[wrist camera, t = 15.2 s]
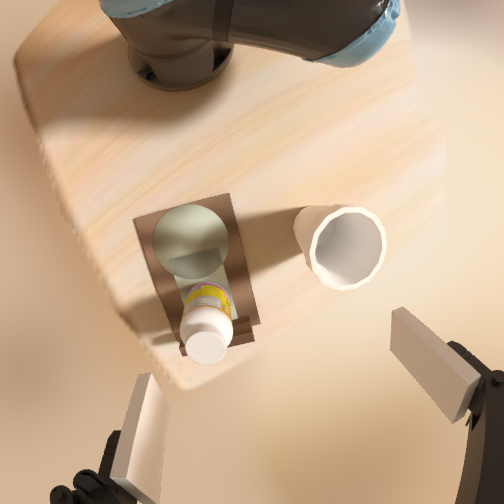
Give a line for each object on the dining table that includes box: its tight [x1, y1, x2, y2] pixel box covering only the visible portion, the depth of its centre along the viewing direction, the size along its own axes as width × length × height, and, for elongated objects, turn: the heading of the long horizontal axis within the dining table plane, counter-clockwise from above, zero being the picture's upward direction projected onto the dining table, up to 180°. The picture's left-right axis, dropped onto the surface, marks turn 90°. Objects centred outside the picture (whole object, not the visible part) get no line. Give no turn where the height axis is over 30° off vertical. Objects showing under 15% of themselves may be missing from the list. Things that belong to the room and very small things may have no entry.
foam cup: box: [293, 204, 387, 291], centre depth 36 cm, size 10×9×13 cm
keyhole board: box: [135, 193, 261, 356], centre depth 39 cm, size 21×14×5 cm, turn 12°
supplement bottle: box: [180, 282, 233, 364], centre depth 37 cm, size 7×7×13 cm
